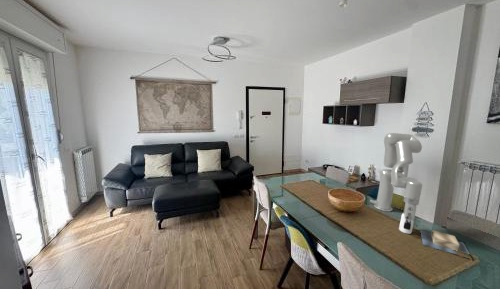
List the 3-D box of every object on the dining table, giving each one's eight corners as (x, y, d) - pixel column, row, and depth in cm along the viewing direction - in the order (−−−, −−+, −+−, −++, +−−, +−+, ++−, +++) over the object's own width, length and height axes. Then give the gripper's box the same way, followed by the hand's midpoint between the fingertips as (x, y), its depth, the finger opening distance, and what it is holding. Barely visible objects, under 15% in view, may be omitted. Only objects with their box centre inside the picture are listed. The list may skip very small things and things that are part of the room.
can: (406, 234, 128) (409, 216, 126) (396, 229, 134) (399, 211, 132) (413, 233, 129) (417, 216, 128) (403, 228, 136) (407, 211, 134)
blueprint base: (423, 245, 118) (424, 237, 117) (419, 231, 133) (421, 224, 132) (472, 260, 107) (474, 252, 106) (462, 243, 122) (464, 236, 121)
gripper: (420, 207, 119) (414, 234, 122) (417, 197, 133) (412, 222, 136) (404, 203, 123) (399, 229, 126) (403, 194, 137) (398, 218, 140)
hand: (406, 225), depth 131 cm, fingers open, 9 cm apart
